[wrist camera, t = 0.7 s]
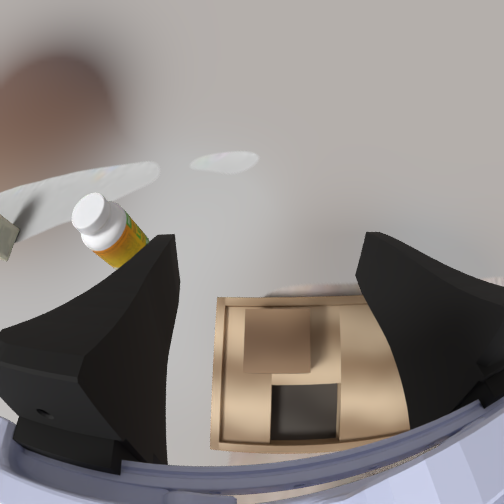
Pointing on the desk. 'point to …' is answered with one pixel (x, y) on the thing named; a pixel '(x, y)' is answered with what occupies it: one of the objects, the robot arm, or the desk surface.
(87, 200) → the supplement bottle
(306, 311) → the walnut block
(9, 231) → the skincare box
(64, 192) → the desk surface
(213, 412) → the tray
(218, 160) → the desk surface
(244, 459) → the desk surface
